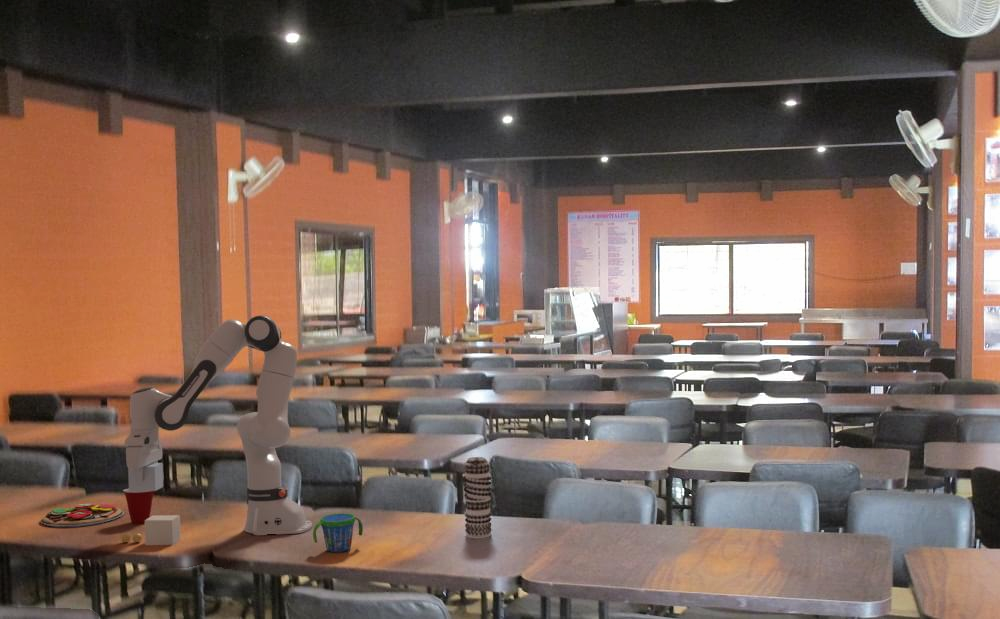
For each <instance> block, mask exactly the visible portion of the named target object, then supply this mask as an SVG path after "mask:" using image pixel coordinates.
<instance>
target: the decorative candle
mask: <svg viewBox="0 0 1000 619" xmlns="http://www.w3.org/2000/svg"><path fill="white" fill-rule="evenodd" d="M489 464H490V462H489V461H488V460H487V459H486V458H485V457H482V456H474V457H469V458H467V460H466V462H464V465H465V472H464V474H465V475H463V477H462V480H463V486H464V487H463V491H464V492H465V493H464V495H463V496H464V501H465V502H466V503H465V504H466V507H465V513H464V515H465V519H464V521H465V522H466V523H465V524H464V526H465V530H464V531H465V537H466V538H469V539H486V538H490V537H491V536H492V527H491V526H492V523H491V521H492V518H491V516H492V513H491V507H490V500H491V495H492V493H491V492H490V491H492V488H491V487H489V486H490V485H492V481H490V480H492V477H491V476H490V471H489V468H490V467H489ZM489 536H490V537H489Z"/></svg>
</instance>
